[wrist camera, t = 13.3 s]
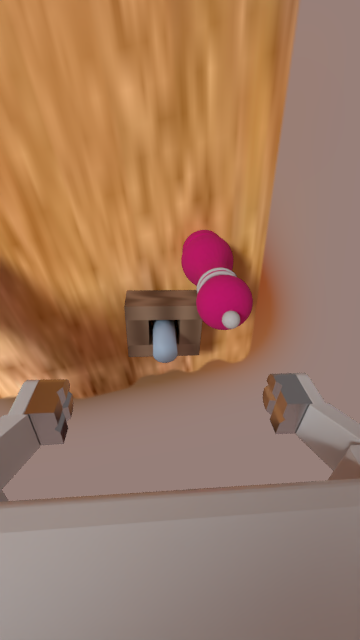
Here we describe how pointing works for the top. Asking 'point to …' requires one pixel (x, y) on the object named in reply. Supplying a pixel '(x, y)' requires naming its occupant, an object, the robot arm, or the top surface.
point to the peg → (164, 341)
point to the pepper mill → (215, 281)
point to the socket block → (162, 308)
